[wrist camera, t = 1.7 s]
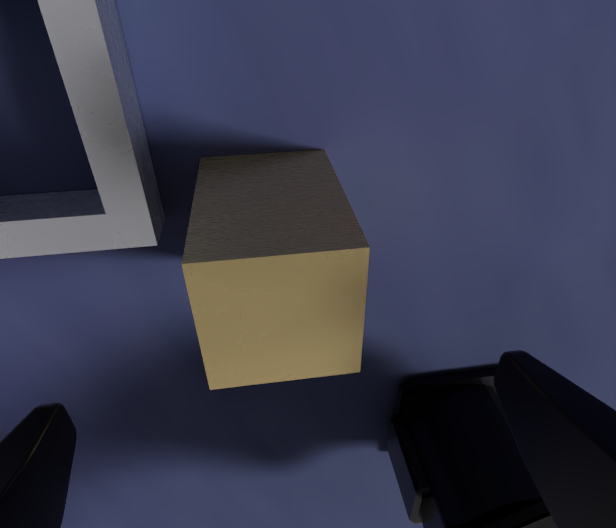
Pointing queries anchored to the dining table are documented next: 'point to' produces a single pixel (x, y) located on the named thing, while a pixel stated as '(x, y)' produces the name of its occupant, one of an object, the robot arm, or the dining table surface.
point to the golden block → (275, 269)
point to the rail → (91, 147)
